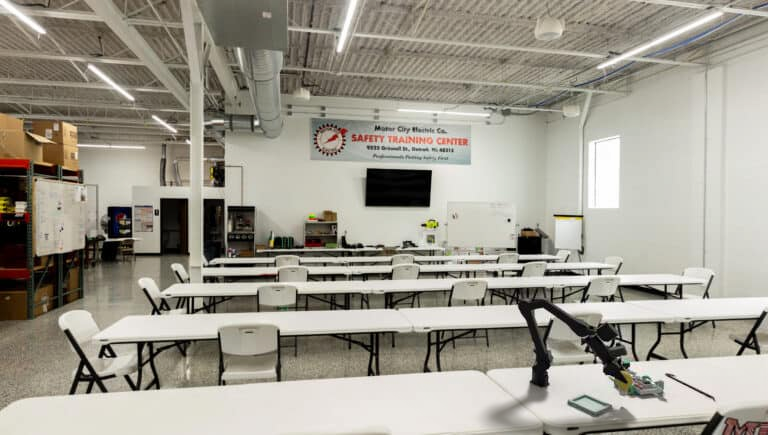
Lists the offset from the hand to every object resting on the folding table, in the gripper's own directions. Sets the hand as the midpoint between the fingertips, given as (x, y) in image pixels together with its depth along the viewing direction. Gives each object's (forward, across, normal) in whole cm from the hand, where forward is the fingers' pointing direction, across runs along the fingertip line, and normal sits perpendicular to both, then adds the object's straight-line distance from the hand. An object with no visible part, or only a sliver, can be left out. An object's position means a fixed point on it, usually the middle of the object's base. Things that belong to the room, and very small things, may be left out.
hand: (627, 380), depth 169 cm
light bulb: (+4, 0, +6) cm, 7 cm away
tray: (-1, -10, +16) cm, 19 cm away
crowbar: (+25, +39, -10) cm, 48 cm away
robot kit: (+8, +25, +7) cm, 27 cm away
